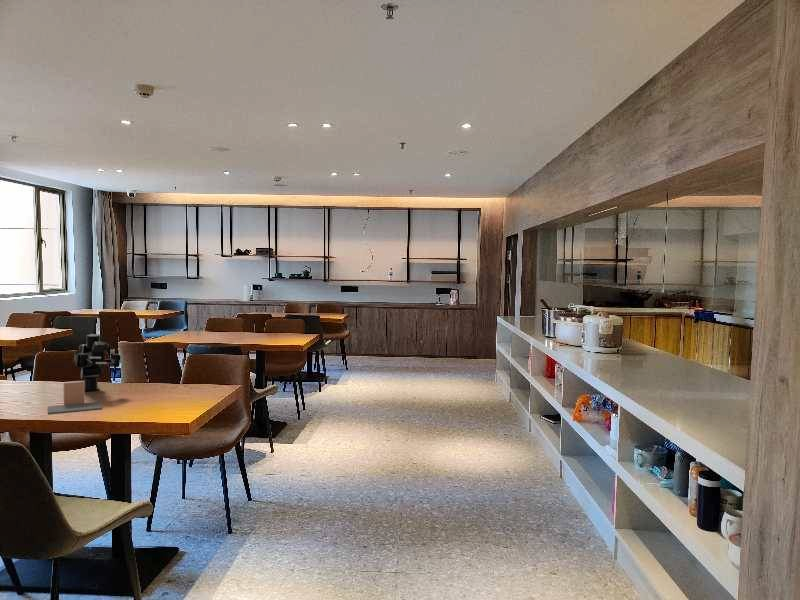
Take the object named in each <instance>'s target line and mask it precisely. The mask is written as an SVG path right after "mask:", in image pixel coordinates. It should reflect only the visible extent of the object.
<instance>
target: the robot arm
mask: <svg viewBox="0 0 800 600" xmlns="http://www.w3.org/2000/svg"><path fill="white" fill-rule="evenodd" d="M109 347H110V344H109V343H108V342H104V341H101V335H100V334H96V333H90V334H87V335H86V344H80V345H79V347H78V348H77V349H76V350H75V351H74V355H73V356H74V357H73V359H74V363H75V366H76V368H81V370H80V379H82V380H83V381H84V392H93V391H100V388H99V387H98V378H100V379H101V378H102V377H103V367H102V366H104V365H109V368H120V363H121V357H122V356H121V355H120V354H119V353H111V354H110V356H109V358H105V356H106V353H105V352H106V351H109V349H110V348H109Z"/></svg>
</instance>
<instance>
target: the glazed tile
mask: <svg viewBox="0 0 800 600" xmlns="http://www.w3.org/2000/svg"><path fill="white" fill-rule="evenodd" d="M62 387H63V405H69V404H80V403H85V391H84V388H85V387H84V380H75V381H74V380H73V381H63V386H62Z"/></svg>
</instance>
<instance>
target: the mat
mask: <svg viewBox="0 0 800 600" xmlns="http://www.w3.org/2000/svg"><path fill="white" fill-rule="evenodd" d="M94 410H103V406H102V403H101V401H92V402H84V403H80V404H69V405H64V404H58V405H48V406H47V415H53V414H65V413H75V412H84V411H85V412H86V411H94Z"/></svg>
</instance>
